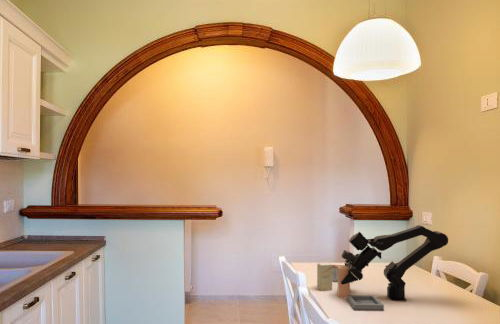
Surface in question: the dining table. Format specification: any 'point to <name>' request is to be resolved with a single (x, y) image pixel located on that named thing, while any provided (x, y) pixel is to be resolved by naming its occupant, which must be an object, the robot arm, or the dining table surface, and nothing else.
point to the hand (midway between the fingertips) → (340, 280)
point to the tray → (365, 302)
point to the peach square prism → (345, 288)
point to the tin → (335, 273)
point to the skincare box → (324, 276)
